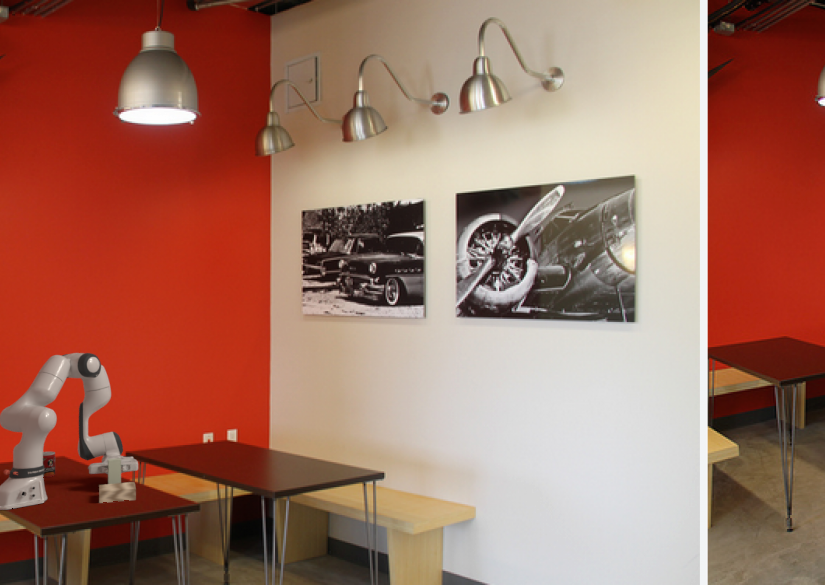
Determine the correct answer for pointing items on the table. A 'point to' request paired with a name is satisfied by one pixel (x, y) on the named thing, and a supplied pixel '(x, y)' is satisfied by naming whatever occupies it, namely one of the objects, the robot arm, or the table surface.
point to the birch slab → (117, 492)
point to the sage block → (114, 471)
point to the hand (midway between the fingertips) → (114, 470)
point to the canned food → (49, 464)
